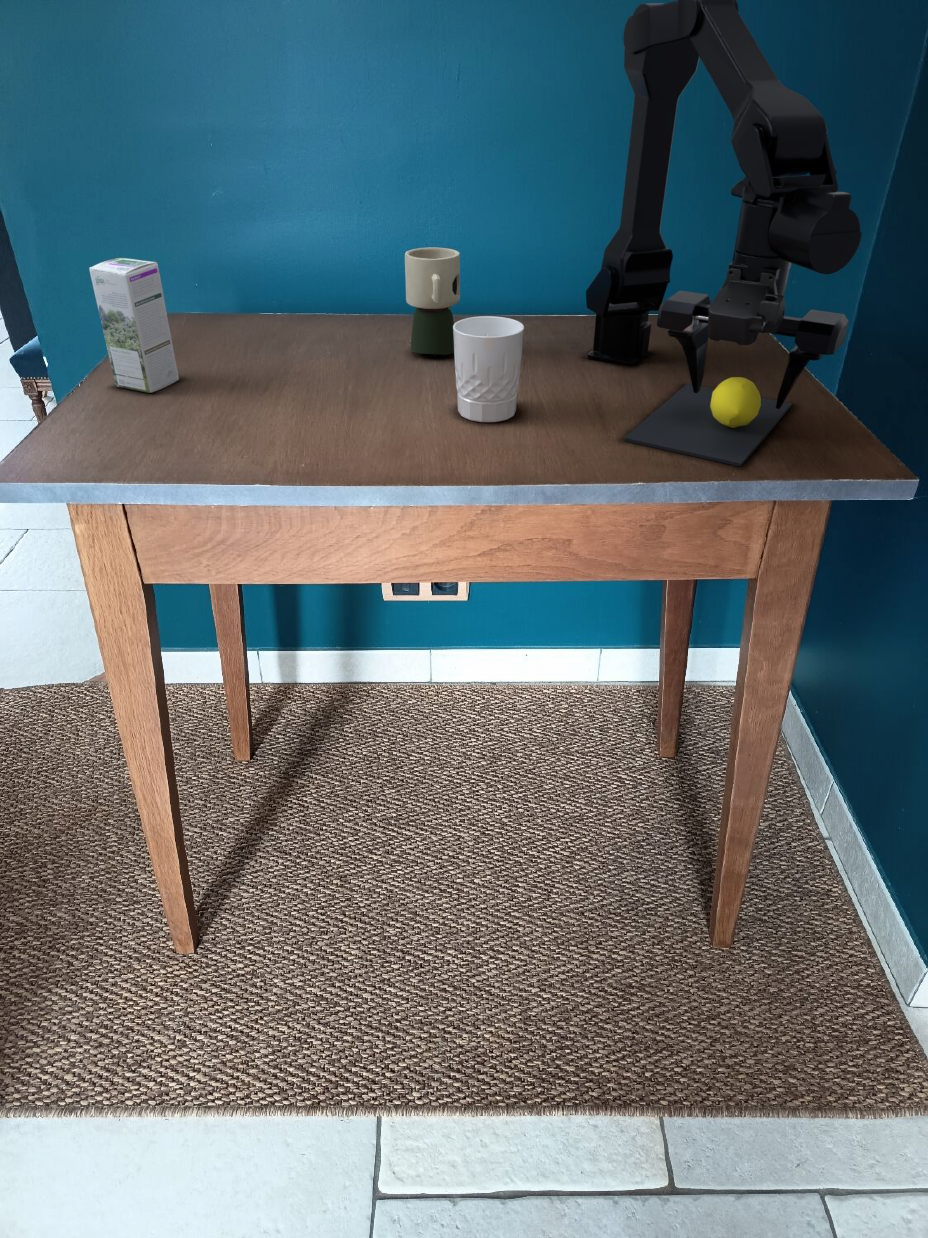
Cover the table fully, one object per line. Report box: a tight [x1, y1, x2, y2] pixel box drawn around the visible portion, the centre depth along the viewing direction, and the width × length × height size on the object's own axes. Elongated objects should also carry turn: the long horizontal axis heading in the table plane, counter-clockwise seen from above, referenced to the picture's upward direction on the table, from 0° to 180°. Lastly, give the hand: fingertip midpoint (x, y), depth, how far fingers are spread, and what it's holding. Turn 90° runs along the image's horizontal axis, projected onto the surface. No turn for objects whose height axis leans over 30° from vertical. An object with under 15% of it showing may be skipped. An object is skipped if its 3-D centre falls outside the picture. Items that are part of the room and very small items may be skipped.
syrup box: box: [88, 257, 180, 394], centre depth 111 cm, size 6×6×14 cm
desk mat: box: [623, 383, 793, 467], centre depth 105 cm, size 13×20×1 cm, turn 149°
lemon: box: [710, 376, 761, 428], centre depth 102 cm, size 7×5×5 cm
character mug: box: [404, 246, 461, 357], centre depth 122 cm, size 11×7×13 cm, turn 8°
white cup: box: [453, 315, 525, 423], centre depth 105 cm, size 8×8×10 cm
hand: (736, 399), depth 102 cm, fingers open, 9 cm apart
